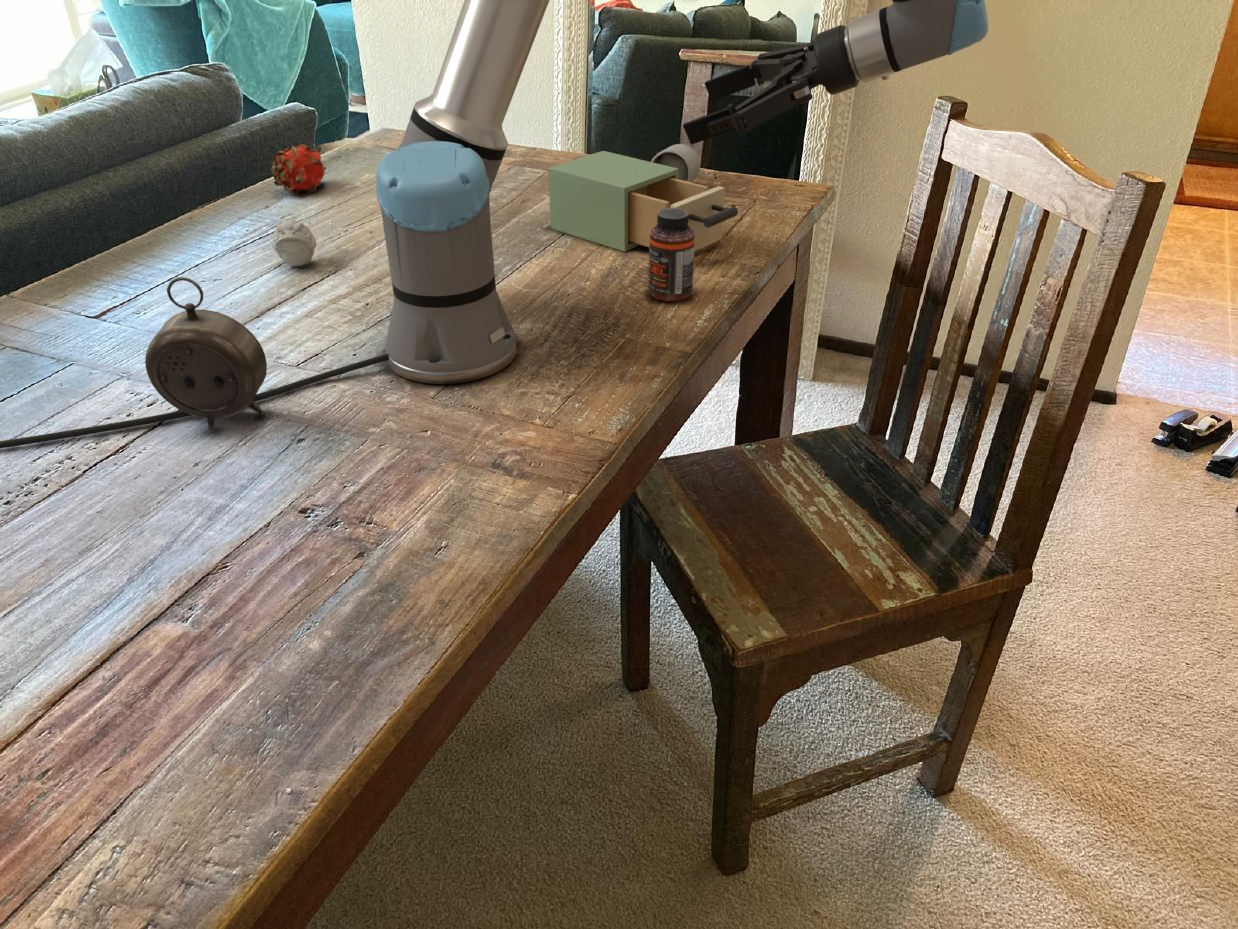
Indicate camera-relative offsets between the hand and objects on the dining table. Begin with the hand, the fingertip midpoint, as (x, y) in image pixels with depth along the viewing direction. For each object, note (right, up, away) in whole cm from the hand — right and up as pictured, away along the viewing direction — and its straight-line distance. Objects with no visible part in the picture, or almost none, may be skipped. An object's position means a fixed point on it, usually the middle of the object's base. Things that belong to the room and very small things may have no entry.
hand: (698, 112), depth 125 cm
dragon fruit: (-67, +1, +40) cm, 78 cm away
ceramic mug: (-2, +1, +39) cm, 39 cm away
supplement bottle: (-4, -25, +1) cm, 25 cm away
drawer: (-3, -14, +15) cm, 21 cm away
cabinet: (-11, -10, +22) cm, 27 cm away
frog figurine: (-57, -19, +10) cm, 61 cm away
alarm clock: (-53, -43, -27) cm, 73 cm away
